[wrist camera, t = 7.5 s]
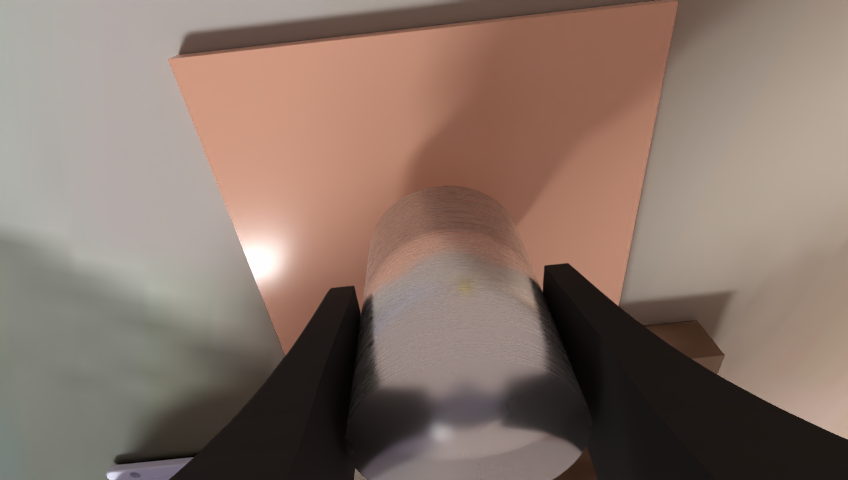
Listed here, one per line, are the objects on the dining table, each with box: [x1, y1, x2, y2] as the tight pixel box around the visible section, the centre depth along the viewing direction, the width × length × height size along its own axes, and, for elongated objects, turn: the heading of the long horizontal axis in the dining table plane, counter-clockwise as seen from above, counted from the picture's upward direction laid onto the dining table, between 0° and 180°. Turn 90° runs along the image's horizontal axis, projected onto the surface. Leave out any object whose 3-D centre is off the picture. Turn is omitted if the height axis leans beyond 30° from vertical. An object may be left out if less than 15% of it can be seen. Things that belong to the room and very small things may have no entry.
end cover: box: [345, 186, 592, 480], centre depth 11 cm, size 5×5×6 cm
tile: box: [168, 0, 679, 356], centre depth 16 cm, size 14×12×1 cm
